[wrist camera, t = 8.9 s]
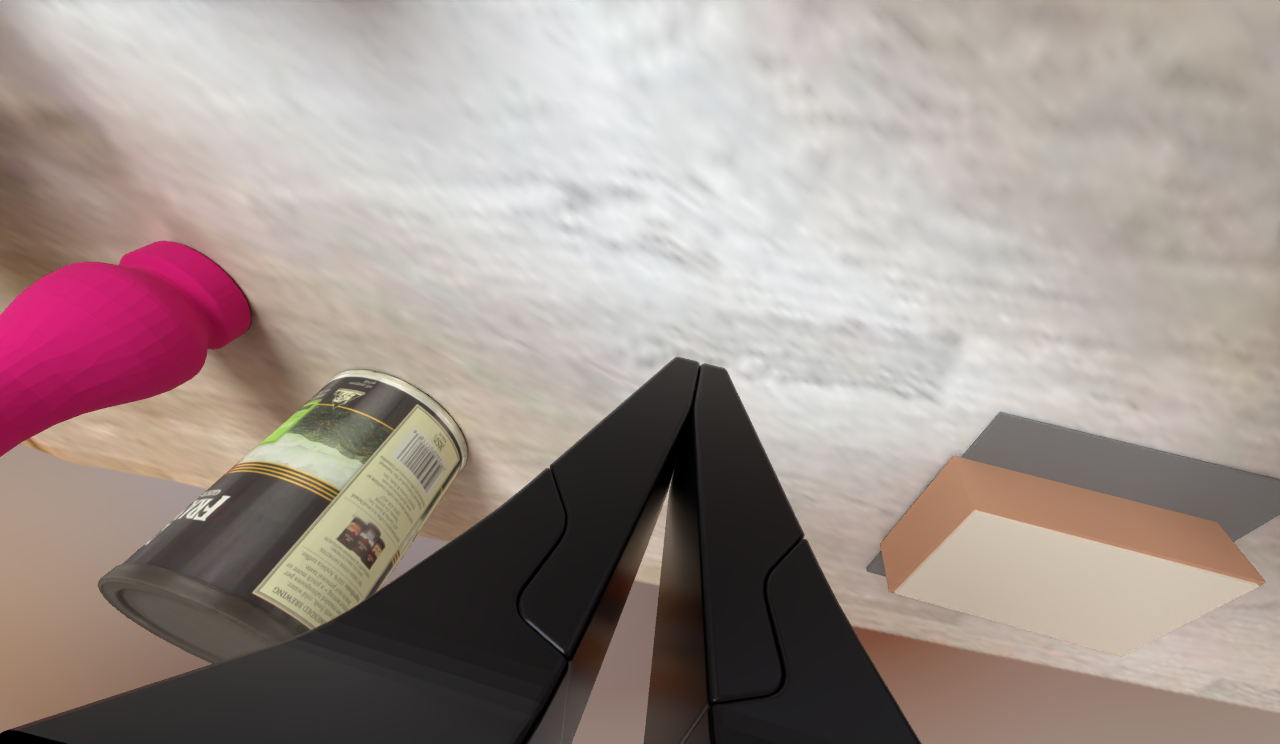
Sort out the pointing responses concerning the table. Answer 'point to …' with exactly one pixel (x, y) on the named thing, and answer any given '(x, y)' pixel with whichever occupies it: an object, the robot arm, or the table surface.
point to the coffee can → (296, 522)
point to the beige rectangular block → (1061, 558)
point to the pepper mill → (111, 335)
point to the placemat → (1126, 474)
